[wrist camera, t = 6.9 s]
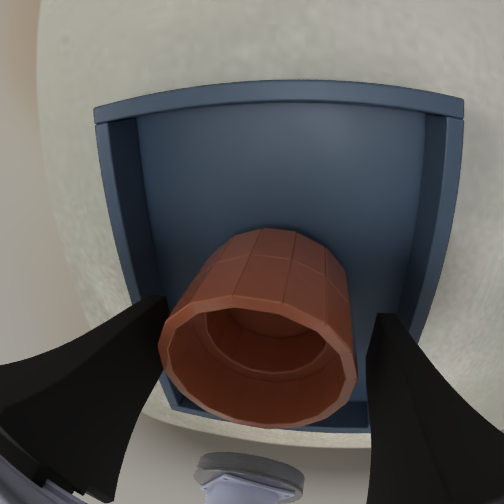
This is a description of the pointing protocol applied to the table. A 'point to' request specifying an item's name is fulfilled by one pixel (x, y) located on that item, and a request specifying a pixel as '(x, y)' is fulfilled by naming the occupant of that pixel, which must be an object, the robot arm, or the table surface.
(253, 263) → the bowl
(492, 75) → the table surface
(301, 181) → the tray
